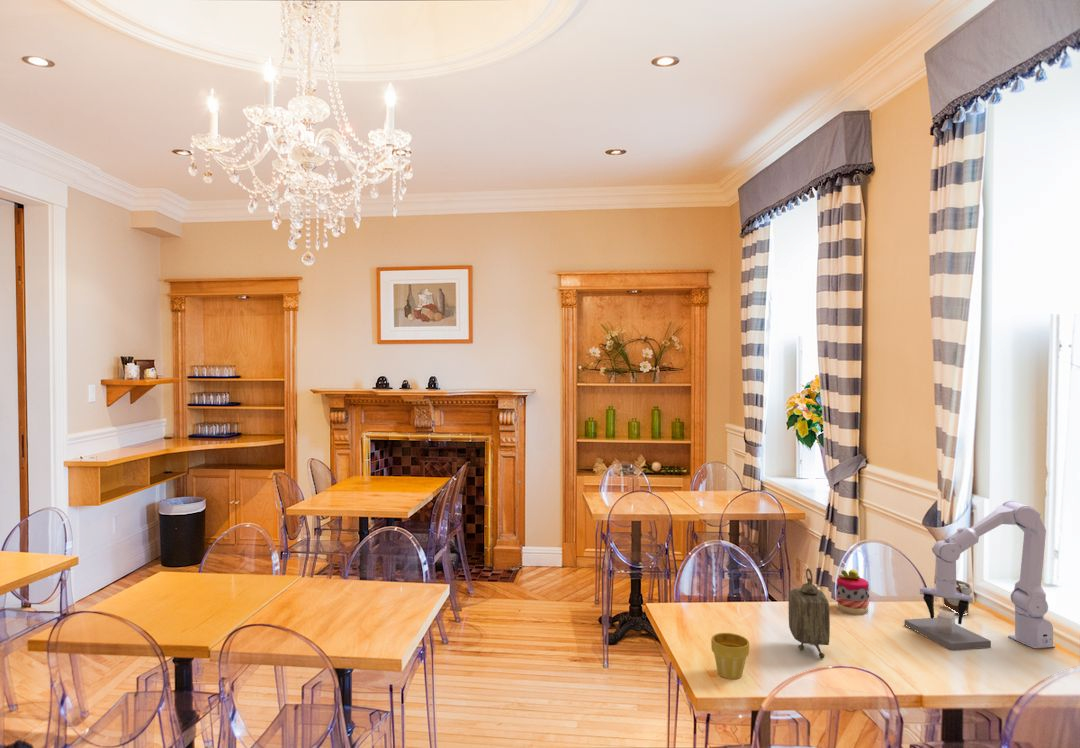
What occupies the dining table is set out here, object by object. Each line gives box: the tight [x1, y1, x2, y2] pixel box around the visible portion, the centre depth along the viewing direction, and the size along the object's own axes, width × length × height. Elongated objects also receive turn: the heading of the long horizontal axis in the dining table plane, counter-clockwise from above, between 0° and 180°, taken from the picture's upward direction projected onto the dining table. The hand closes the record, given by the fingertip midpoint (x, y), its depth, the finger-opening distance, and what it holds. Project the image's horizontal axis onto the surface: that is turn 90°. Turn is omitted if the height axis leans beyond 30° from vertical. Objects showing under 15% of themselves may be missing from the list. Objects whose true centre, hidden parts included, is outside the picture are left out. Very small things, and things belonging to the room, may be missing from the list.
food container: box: [942, 579, 973, 614], centre depth 232 cm, size 12×6×10 cm, turn 179°
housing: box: [936, 609, 956, 634], centre depth 210 cm, size 8×4×5 cm, turn 140°
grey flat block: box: [904, 617, 992, 651], centre depth 209 cm, size 20×14×2 cm
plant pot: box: [710, 632, 750, 680], centre depth 182 cm, size 10×10×10 cm
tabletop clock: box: [788, 567, 831, 659], centre depth 198 cm, size 14×9×25 cm, turn 170°
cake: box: [836, 569, 870, 616], centre depth 232 cm, size 10×11×15 cm
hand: (945, 620), depth 209 cm, fingers open, 7 cm apart
